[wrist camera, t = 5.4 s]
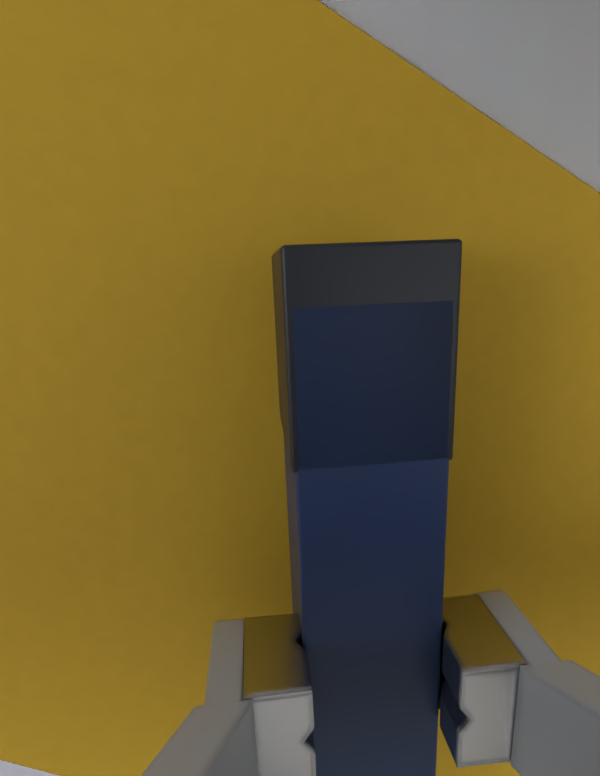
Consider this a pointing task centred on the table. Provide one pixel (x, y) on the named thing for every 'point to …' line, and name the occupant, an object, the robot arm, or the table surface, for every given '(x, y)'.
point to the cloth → (250, 346)
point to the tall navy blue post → (369, 487)
